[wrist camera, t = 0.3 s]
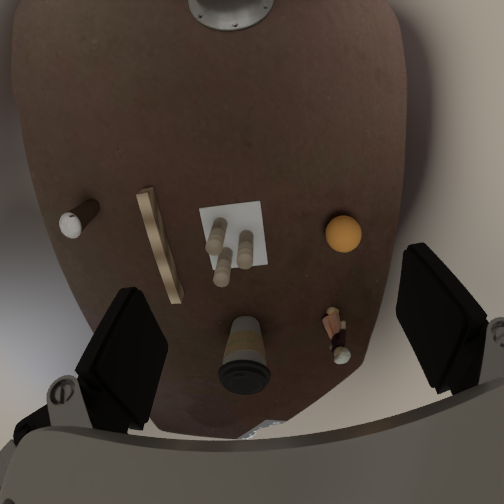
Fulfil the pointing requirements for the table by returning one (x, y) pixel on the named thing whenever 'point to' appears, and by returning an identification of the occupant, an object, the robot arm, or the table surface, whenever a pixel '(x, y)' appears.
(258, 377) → the coffee cup
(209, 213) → the pin deck mark
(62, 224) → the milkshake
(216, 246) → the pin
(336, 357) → the grandmother figurine
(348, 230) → the ball
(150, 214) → the back rail
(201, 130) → the table surface
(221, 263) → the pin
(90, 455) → the robot arm
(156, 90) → the table surface
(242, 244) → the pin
